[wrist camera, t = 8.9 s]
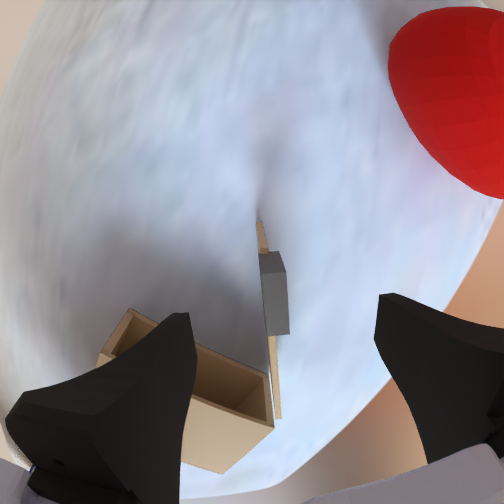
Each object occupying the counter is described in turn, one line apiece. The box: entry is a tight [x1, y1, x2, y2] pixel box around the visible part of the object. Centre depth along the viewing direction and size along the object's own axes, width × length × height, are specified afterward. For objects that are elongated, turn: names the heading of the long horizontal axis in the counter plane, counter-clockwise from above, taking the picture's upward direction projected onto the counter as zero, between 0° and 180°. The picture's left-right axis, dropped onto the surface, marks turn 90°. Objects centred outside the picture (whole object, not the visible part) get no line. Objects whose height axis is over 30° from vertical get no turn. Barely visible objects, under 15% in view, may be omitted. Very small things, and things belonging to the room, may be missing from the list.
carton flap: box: [256, 221, 290, 419], centre depth 18 cm, size 1×12×8 cm, turn 6°
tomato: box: [388, 7, 504, 199], centre depth 12 cm, size 12×14×11 cm
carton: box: [95, 308, 274, 474], centre depth 21 cm, size 8×13×6 cm, turn 59°
